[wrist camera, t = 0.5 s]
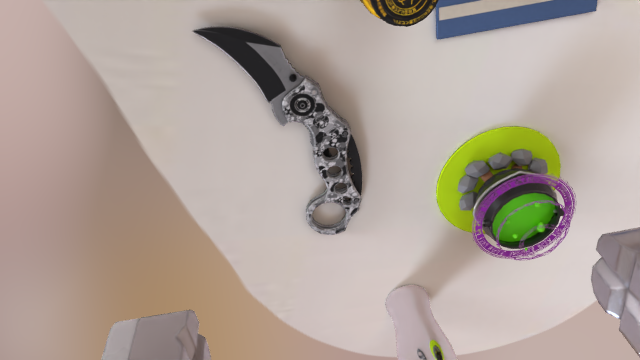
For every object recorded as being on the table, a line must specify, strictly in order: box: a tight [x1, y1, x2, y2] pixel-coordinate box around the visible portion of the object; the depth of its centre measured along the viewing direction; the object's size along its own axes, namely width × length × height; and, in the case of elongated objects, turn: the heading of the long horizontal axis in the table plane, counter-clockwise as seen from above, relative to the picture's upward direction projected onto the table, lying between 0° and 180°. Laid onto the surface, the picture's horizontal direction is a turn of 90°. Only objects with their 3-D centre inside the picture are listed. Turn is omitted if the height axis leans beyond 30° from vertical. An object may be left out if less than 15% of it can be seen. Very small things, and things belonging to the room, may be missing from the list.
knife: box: [192, 27, 362, 235], centre depth 56 cm, size 28×2×10 cm
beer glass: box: [385, 285, 458, 360], centre depth 66 cm, size 7×7×15 cm
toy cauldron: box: [436, 126, 576, 260], centre depth 58 cm, size 15×15×11 cm
